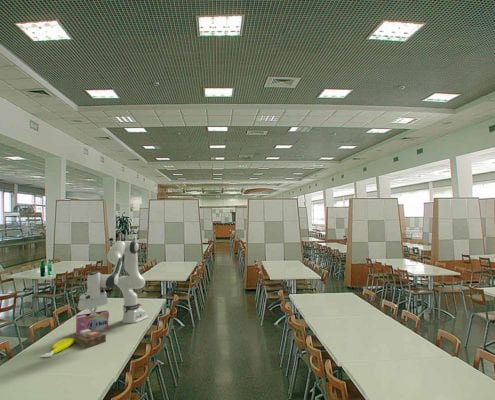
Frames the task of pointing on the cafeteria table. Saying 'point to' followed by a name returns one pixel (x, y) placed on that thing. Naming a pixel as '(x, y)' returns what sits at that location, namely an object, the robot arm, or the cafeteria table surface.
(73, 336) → the key panel
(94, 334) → the brick key
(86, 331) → the white key
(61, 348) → the spray bottle
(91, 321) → the gum box
